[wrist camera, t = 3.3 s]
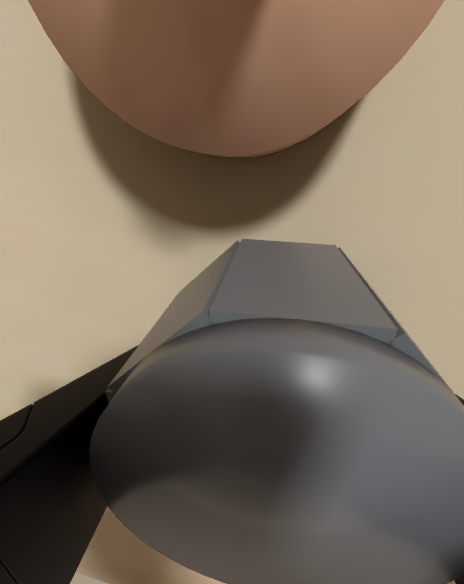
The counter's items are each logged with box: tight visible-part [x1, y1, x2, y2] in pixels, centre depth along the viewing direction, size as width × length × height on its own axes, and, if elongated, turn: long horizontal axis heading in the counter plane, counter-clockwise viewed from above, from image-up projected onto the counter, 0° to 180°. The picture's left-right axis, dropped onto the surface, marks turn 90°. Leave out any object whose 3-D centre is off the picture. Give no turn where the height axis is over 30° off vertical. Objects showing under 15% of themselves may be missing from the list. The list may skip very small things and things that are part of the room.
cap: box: [89, 239, 464, 584], centre depth 7 cm, size 7×7×5 cm
